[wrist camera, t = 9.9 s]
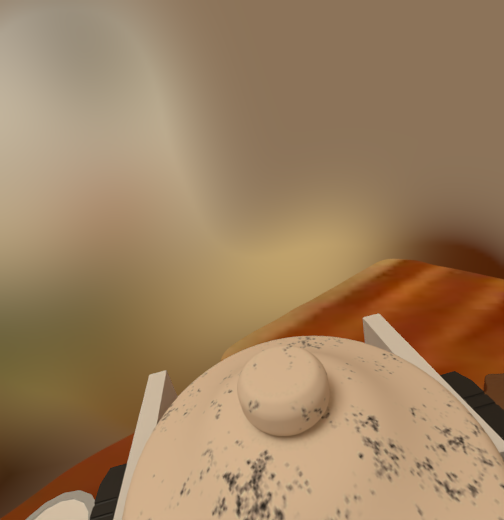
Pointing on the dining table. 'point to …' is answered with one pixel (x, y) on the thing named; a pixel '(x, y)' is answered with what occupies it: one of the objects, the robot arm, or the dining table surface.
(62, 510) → the white cup
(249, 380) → the teacup with lid
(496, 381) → the plant
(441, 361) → the dining table surface
